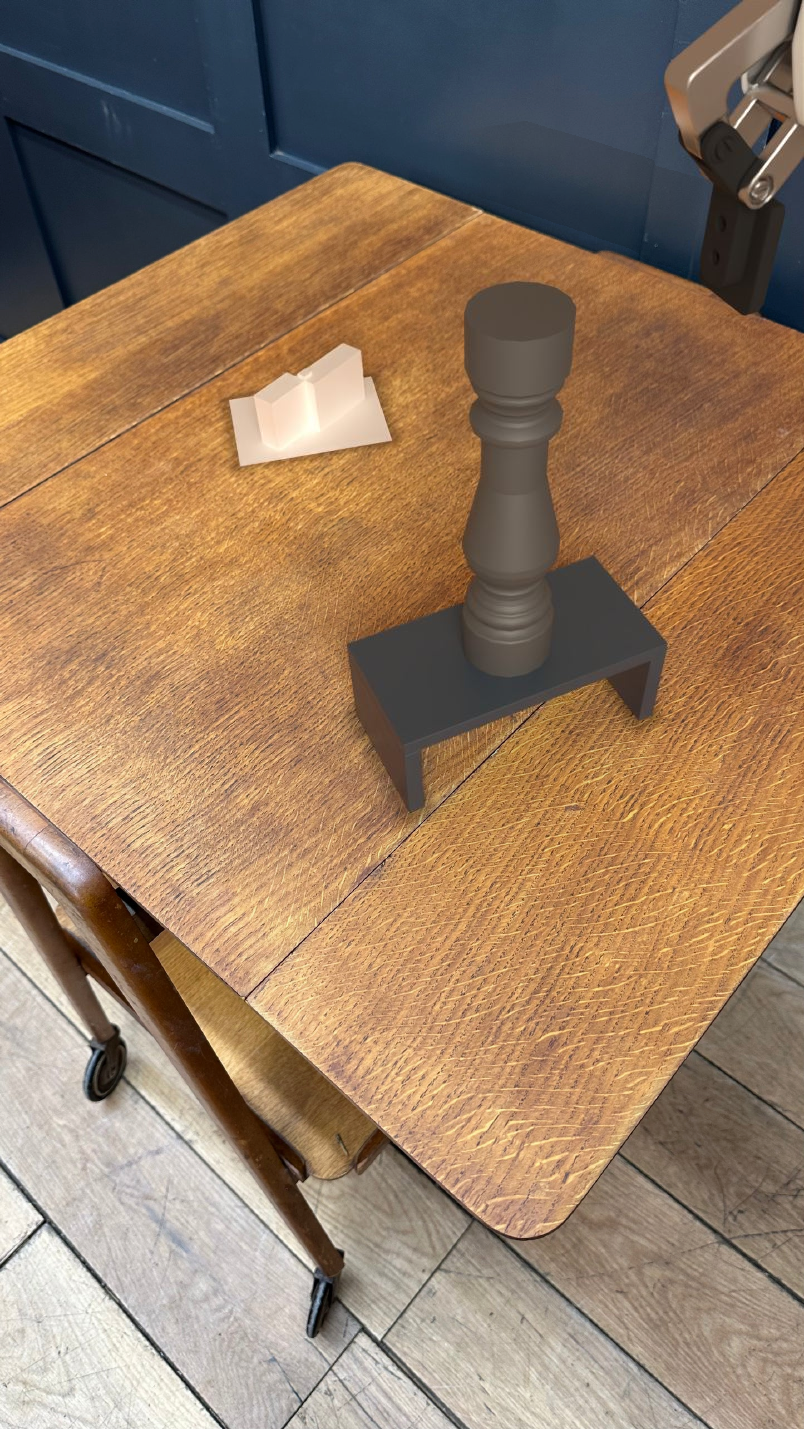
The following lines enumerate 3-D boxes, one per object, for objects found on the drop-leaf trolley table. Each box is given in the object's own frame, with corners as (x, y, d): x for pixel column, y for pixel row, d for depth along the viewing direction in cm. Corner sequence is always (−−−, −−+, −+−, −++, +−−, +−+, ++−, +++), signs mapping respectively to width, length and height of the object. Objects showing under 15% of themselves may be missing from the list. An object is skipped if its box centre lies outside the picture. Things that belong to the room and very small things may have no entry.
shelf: (584, 628, 83) (594, 554, 77) (652, 715, 77) (668, 643, 71) (356, 714, 79) (346, 643, 72) (409, 813, 73) (403, 745, 67)
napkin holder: (370, 375, 107) (366, 324, 102) (393, 440, 100) (389, 388, 95) (227, 400, 105) (216, 350, 101) (240, 467, 98) (229, 417, 94)
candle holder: (567, 660, 70) (604, 325, 51) (484, 688, 69) (489, 356, 50) (527, 601, 74) (547, 267, 55) (448, 627, 73) (439, 296, 53)
